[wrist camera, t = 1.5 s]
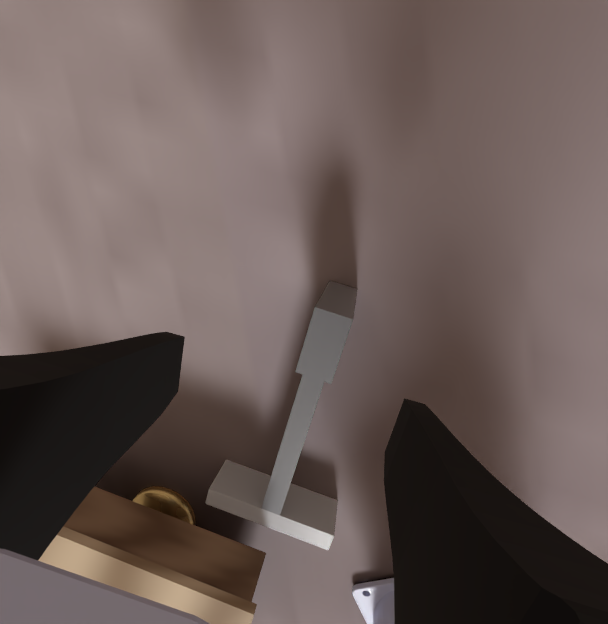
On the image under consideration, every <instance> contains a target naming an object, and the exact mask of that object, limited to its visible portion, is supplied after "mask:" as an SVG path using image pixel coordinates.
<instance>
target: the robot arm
mask: <svg viewBox="0 0 608 624" xmlns="http://www.w3.org/2000/svg"><path fill="white" fill-rule="evenodd" d="M183 345H184V337H183V336H180V335H176V334H173V333H169V332H160V333H154V334H148V335H143V336H138V337H133V338H128V339H124V340H119V341H114V342H109V343H104V344H99V345H93V346H87V347H82V348H76V349H70V350H63V351H56V352H47V353H38V354H27V355H12V356H0V624H210V623H208V622H206V621H204V620H203V619H201V618H199V617H197V616H195V615H192V614H189V613H186V612H184V611H181V610H178V609H175V608H172V607H169V606H166V605H164V604H161V603H158V602H155V601H152V600H149V599H146V598H144V597H141V596H138V595H135V594H132V593H129V592H126V591H123V590H121V589H118V588H115V587H112V586H109V585H106V584H103V583H101V582H98V581H95V580H92V579H89V578H86V577H83V576H81V575H78V574H75V573H72V572H69V571H66V570H63V569H60V568H58V567H55V566H52V565H49V564H46V563H43V562H40V561H38V560H39V559H40V557H41V556H42V555H43V553H44V552H45V550H46V549H47V547H48V546H49V545H50V543H51V542H52V541H53V539H54V538H55V537H56V535H57V534H58V533H59V531H60V530H61V529H62V527H63V526H64V525H65V523H66V522H67V521H68V519H69V518H70V517H71V515H72V514H73V513H74V511H75V510H76V509H77V508H78V506H79V505H80V504H81V503H82V501H83V500H84V499H85V497H86V496H87V495H88V494H89V492H90V491H91V490H92V489H93V487H94V486H95V485H96V484H97V482H98V481H99V480H100V479H101V478H102V476H103V475H104V474H105V473H106V472H107V471H108V470H109V469H110V467H111V466H112V465H113V464H114V463H115V462H116V461H117V460H118V459H119V458H120V457H121V456H122V455H123V454H124V453H125V452H126V451H127V450H128V449H129V448H130V447H131V446H132V445H133V444H134V443H135V442H136V441H137V440H138V439H139V437H140V436H141V435H142V434H143V433H144V432H145V431H146V430H147V429H148V428H149V427H150V426H151V425H152V424H153V423H154V422H155V421H156V420H157V418H158V417H159V416H160V415H161V414H162V413H163V411H164V410H165V409H166V407H167V406H168V405H169V403H170V402H171V400H172V399H173V397H174V396H175V394H176V393H177V392H178V386H179V378H180V370H181V362H182V354H183ZM384 485H385V495H386V505H387V513H388V522H389V531H390V540H391V548H392V557H393V571H394V578H389V579H383V580H378V581H372V582H366V583H360V584H356V585H354V586H353V588H352V594H353V597H354V599H355V601H356V603H357V605H358V607H359V609H360V611H361V613H362V615H363V617H364V619H365V621H366V623H367V624H608V563H606V562H604V561H603V560H601V559H600V558H598V557H597V556H595V555H594V554H592V553H591V552H589V551H588V550H586V549H585V548H584V547H582V546H581V545H579V544H578V543H576V542H575V541H573V540H572V539H571V538H569V537H568V536H566V535H565V534H564V533H562V532H561V531H560V530H558V529H557V528H556V527H554V526H553V525H552V524H550V523H549V522H548V521H546V520H545V519H544V518H542V517H541V516H540V515H538V514H537V513H536V512H535V511H533V510H532V509H531V508H530V507H528V506H527V505H526V504H525V503H524V502H522V501H521V500H520V499H519V498H518V497H517V496H515V495H514V494H513V493H512V492H511V491H509V490H508V489H507V488H506V487H505V486H504V485H502V484H501V483H500V482H499V481H498V480H497V479H496V478H495V477H494V476H493V475H492V474H491V473H490V472H489V471H488V470H487V469H485V468H484V467H483V466H482V465H481V464H480V463H479V462H478V461H477V460H476V459H475V458H474V457H473V456H472V455H471V454H470V453H469V451H468V450H467V449H466V448H465V447H464V446H463V445H462V444H461V443H460V442H459V441H458V440H457V439H456V438H455V436H454V435H453V434H452V433H451V432H450V431H449V430H448V429H447V428H446V426H445V425H444V424H443V423H442V422H441V421H440V420H439V419H438V418H437V416H436V415H435V414H434V413H433V412H432V411H431V410H430V409H429V408H428V407H427V406H426V405H425V404H422V403H418V402H415V401H411V400H408V399H404V401H403V404H402V407H401V410H400V412H399V415H398V418H397V421H396V423H395V426H394V429H393V431H392V434H391V437H390V440H389V442H388V445H387V448H386V451H385V465H384Z"/></svg>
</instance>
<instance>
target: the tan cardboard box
mask: <svg viewBox="0 0 608 624" xmlns="http://www.w3.org/2000/svg"><path fill="white" fill-rule="evenodd" d="M265 555H266V553H265V552H262V551H259V550H257V549H254V548H252V547H249V546H247V545H244V544H241V543H239V542H236V541H234V540H231V539H229V538H226V537H223V536H221V535H218V534H216V533H213V532H211V531H208V530H205V529H203V528H200V527H198V526H195V525H192V524H190V523H187V522H185V521H182V520H180V519H177V518H174V517H172V516H169V515H167V514H164V513H162V512H159V511H156V510H154V509H151V508H149V507H146V506H143V505H141V504H138V503H136V502H133V501H131V500H128V499H125V498H123V497H120V496H118V495H115V494H113V493H110V492H107V491H105V490H102V489H100V488H97V487H95V486H94V487H93V489H92V490H91V491H90V492H89V494H88V495H87V496H86V497H85V499H84V500H83V501H82V503H81V504H80V505H79V506H78V508H77V509H76V510H75V511H74V513H73V514H72V515H71V517H70V518H69V519H68V521H67V522H66V523H65V525H64V526H63V527H62V529H61V530H60V531H59V533H58V534H57V535H56V537H55V538H54V539H53V541H52V542H51V543H50V545H49V546H48V547H47V549H46V550H45V552H44V553H43V555H42V556H41V557H40V559H39V560H38V561H40V562H43V563H46V564H49V565H52V566H55V567H58V568H60V569H63V570H66V571H69V572H72V573H75V574H78V575H81V576H83V577H86V578H89V579H92V580H95V581H98V582H101V583H103V584H106V585H109V586H112V587H115V588H118V589H121V590H123V591H126V592H129V593H132V594H135V595H138V596H141V597H144V598H146V599H149V600H152V601H155V602H158V603H161V604H164V605H166V606H169V607H172V608H175V609H178V610H181V611H184V612H186V613H189V614H192V615H195V616H197V617H199V618H201V619H203V620H204V621H206V622H208V623H210V624H251V622H252V619H253V616H254V613H255V609H256V606H257V604H255V603H252V602H251V601H252V598H253V595H254V591H255V588H256V585H257V581H258V578H259V575H260V571H261V568H262V565H263V561H264V558H265Z"/></svg>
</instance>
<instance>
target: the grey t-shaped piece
mask: <svg viewBox="0 0 608 624" xmlns="http://www.w3.org/2000/svg"><path fill="white" fill-rule="evenodd" d="M356 296H357V289H356V288H352V287H349V286H346V285H343V284H340V283H336V282H333V281H329V283H328V285H327V287H326V288H325V290H324V292H323V294H322V295H321V297H320V299H319V301H318V302H317V304H316V306H315V308H314V311H313V315H312V318H311V321H310V325H309V328H308V331H307V335H306V338H305V341H304V345H303V348H302V351H301V355H300V358H299V361H298V365H297V368H296V371H295V372H297V373H300V374H302V378H301V381H300V384H299V388H298V391H297V394H296V397H295V401H294V404H293V407H292V410H291V413H290V417H289V420H288V423H287V426H286V430H285V433H284V436H283V439H282V443H281V446H280V449H279V452H278V456H277V459H276V462H275V465H274V469H273V472H272V475H271V476H270V475H268V474H265V473H262V472H259V471H257V470H254V469H251V468H248V467H246V466H243V465H240V464H238V463H235V462H232V461H229V460H227V459H226V460H225V462H224V464H223V465H222V467H221V469H220V471H219V472H218V474H217V476H216V478H215V479H214V481H213V483H212V484H211V486H210V488H209V491H208V495H207V499H206V503H205V504H208V505H210V506H213V507H215V508H218V509H221V510H223V511H226V512H229V513H231V514H234V515H236V516H239V517H242V518H244V519H247V520H250V521H252V522H255V523H257V524H260V525H263V526H265V527H268V528H271V529H273V530H276V531H278V532H281V533H284V534H286V535H289V536H292V537H294V538H297V539H300V540H302V541H305V542H307V543H310V544H313V545H315V546H318V547H321V548H323V549H326V550H329V547H330V545H331V542H332V540H333V537H334V532H335V522H336V513H337V503H338V500H336V499H333V498H330V497H327V496H325V495H322V494H319V493H316V492H314V491H311V490H308V489H306V488H303V487H300V486H297V485H295V484H292V483H291V481H292V478H293V475H294V472H295V469H296V466H297V463H298V460H299V457H300V454H301V451H302V448H303V445H304V442H305V439H306V436H307V433H308V430H309V427H310V424H311V421H312V418H313V415H314V412H315V409H316V406H317V403H318V400H319V397H320V394H321V391H322V388H323V385H324V382H326V383H329V384H331V383H332V380H333V377H334V374H335V372H336V369H337V366H338V363H339V360H340V357H341V354H342V351H343V348H344V345H345V342H346V339H347V336H348V333H349V330H350V327H351V325H352V322H353V317H354V310H355V303H356Z"/></svg>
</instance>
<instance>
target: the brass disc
mask: <svg viewBox="0 0 608 624" xmlns="http://www.w3.org/2000/svg"><path fill="white" fill-rule="evenodd" d="M133 502H136V503H138V504H141V505H143V506H146V507H149V508H151V509H154V510H156V511H159V512H162V513H164V514H167V515H169V516H172V517H174V518H177V519H180V520H182V521H185V522H187V523H190V524H192V525H195V523H196V520H195V514H194V511H193V509H192V507H191V506H190V504H189V503H188V502H187V500H186V499H185V498H184V497H182V496H181V495H180V494H179V493H177V492H175V491H173V490H171V489H169V488H165V487H161V486H152V487H148V488H145V489H143V490H142V491H140V492H139V493H138V495H137V496H136V497H135V498H134V499H133Z"/></svg>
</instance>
